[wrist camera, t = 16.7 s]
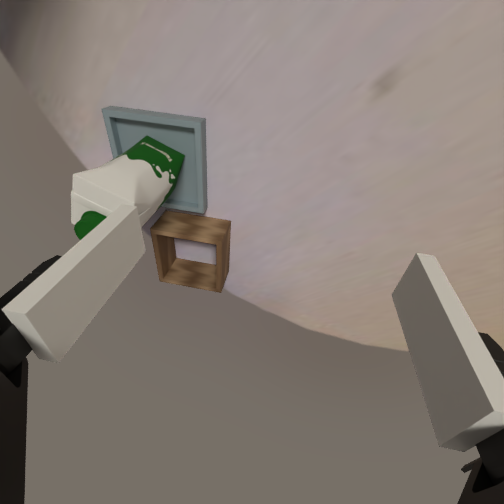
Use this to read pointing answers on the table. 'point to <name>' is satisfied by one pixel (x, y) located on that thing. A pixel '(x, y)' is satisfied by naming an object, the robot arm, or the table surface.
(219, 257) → the holder
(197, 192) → the tray
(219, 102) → the table surface
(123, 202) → the soya milk
